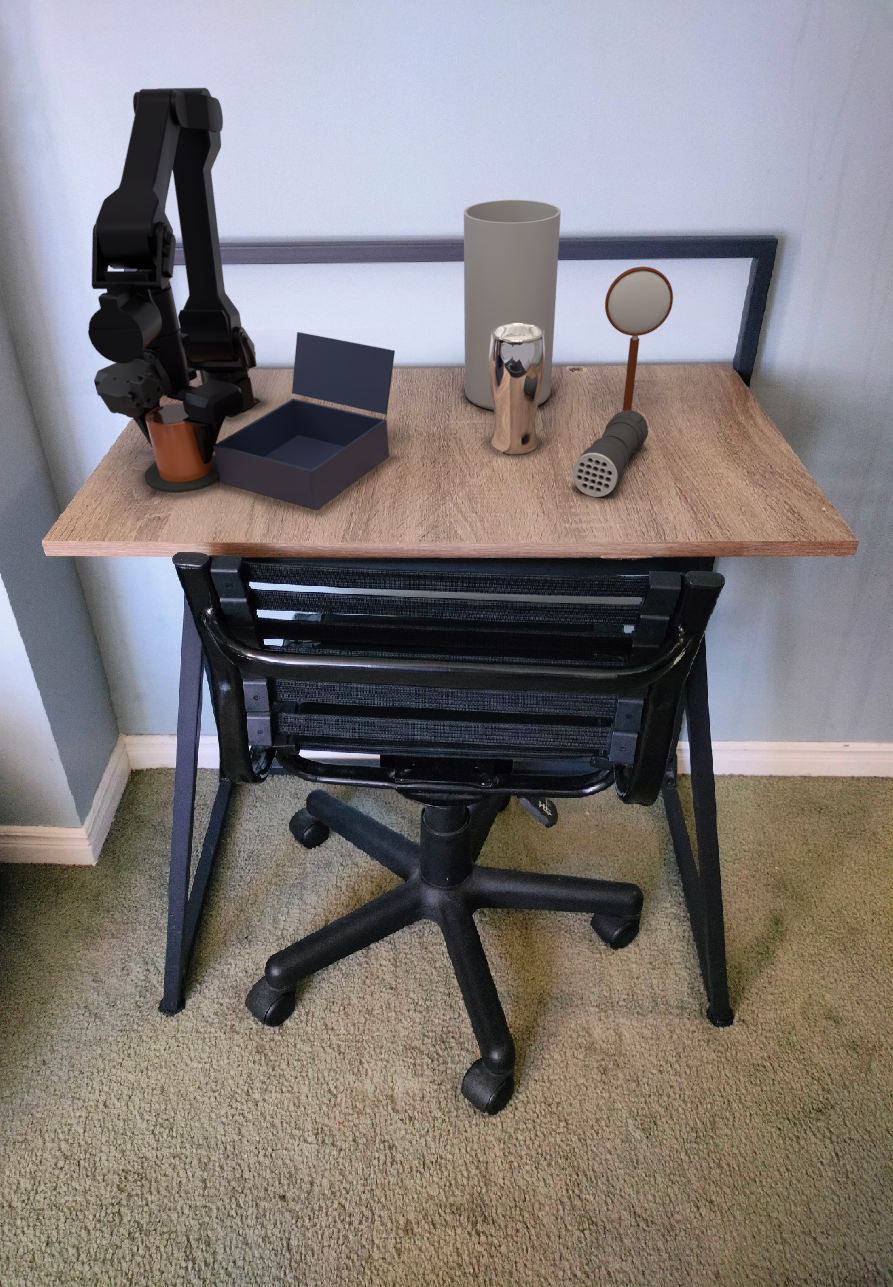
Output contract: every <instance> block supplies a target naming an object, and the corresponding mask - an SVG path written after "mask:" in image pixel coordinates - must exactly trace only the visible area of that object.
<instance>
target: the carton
mask: <svg viewBox="0 0 893 1287" xmlns="http://www.w3.org/2000/svg"><path fill="white" fill-rule="evenodd" d="M388 434H389V433H388V420H387V419H386V418H380V417H376V416H372V415H368V414H364V413H358V412H355V411H350V410H346V409H341V408H337V407H333V406H329V405H324V404H319V403H315V402H312V401H311V402H310V401H308V400H307V401H306V400H302V399H297V398H291V399H289V400H288V401H286V402H284V403H283V404H281V405H278V406H277V407H276V408H274V409H272V410H271V411H269V412H267V413H266V414H264V415H262V416H260V417H258V418H257V419H256V420H254V421H252V422H251V423H249V424H247V425H246V426H244V427H242V428H240V429H239V430H237V431H235V432H233V433H232V434H230V435H228V436H227V437H225V438H223V439H222V440H220V441H219V442H218V441H217V442H216V444H215V445H213V447H214V455H215V457H216V462H217V467H218V472H219V477H220V480H219V482H220V484H222V485H226V486H230V487H234V488H237V489H241V490H244V491H248V492H251V493H255V494H258V495H260V496H261V495H262V496H264V497H268V498H272V499H275V500H279V501H281V502H282V501H283V502H285V503H288V504H289V503H290V504H292V505H296V506H299V507H303V508H307V509H310V510H312V511H319V510H320V509H322V508H323V507H324V506H326V505H327V504H328V503H329V502H330V501H332V500H334V499H335V498H336V497H337V496H338V495H340V494H341V493H343V492H344V491H345V490H347V489H348V488H350V486H352V485H353V484H355V483H356V482H358V481H359V480H360V479H361V478H363V477H364V476H365V475H366V474H368V473H370V471H372V470H373V469H374V468H376V467H377V466H379V465H380V464H381V463H383V462H384V461H385V460H386V459H388V458H389V457H390V450H389V435H388Z"/></svg>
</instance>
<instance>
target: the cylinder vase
mask: <svg viewBox="0 0 893 1287" xmlns="http://www.w3.org/2000/svg"><path fill="white" fill-rule="evenodd" d="M560 230H561V208H559V207H558V206H556V205H554V204H551V203H547V202H543V201H537V200H526V199H501V200H490V201H485V202H479V203H474V204H472V205H469V206H467V207H466V208H464V210H463V304H464V305H463V306H464V307H463V309H464V310H463V312H464V313H463V314H464V317H463V319H464V323H463V324H464V392H465V393H464V394H465V396H466V398H467V399H468V401H470V402H471V403H472V404H474V405H476V406H478V407H480V408H483V409H487V410H491V411H494V405H493V400H492V394H491V387H490V379H489V351H490V340H491V330H492V329H493V328H494V327H496V326H498V325H502V324H506V323H529V324H534V325H537V326H539V327H541V328H542V329H543V330H544V346H545V366H544V377H543V383H542V388H541V392H540V397H539V401H538V406H540V405H541V404H542V405H543V403H545V402H546V401H547V400H548V398H549V397H550V395H551V390H552V371H553V354H554V353H553V352H554V336H555V333H554V332H555V317H556V304H557V303H556V300H557V286H558V285H557V284H558V266H559V248H560Z"/></svg>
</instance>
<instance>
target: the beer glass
mask: <svg viewBox="0 0 893 1287" xmlns="http://www.w3.org/2000/svg"><path fill="white" fill-rule="evenodd" d="M544 366H545V346H544V330H543V329H542V328H541V327H539V326H537V325H534V324H529V323H506V324H502V325H498V326H496V327H494V328H493V329H492V330H491V340H490V351H489V379H490V387H491V394H492V400H493V405H494V410H493V411H494V412H493V413H494V426H493V431H492V436H491V446H492V447H493V448H494V449H496V450H498V451H501V452H502V454H506V455H514V456H515V455H524V454H527V453H530V452H533V451H534V450H535V449H536V448H537V447H538V435H537V429H536V417H537V411H538V406H539V405H538V401H539V397H540V392H541V388H542V383H543V377H544Z"/></svg>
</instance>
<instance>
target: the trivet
mask: <svg viewBox="0 0 893 1287" xmlns="http://www.w3.org/2000/svg"><path fill="white" fill-rule="evenodd" d="M210 462H211V470H210V472H209V473H208V474H206V475H205V476H203V477H201V478H199V479H196V480H193V481H188V482H170V481H166V480H164V479H162V478H161V477H160V476H159V472H158V468H157V464H156V462H154V463H152V464H151V465H149V467H148V468H147V469H146V470H145V473H144V480H145V483H146V484H147V486H149V488H151V489H153V490H155V491H159V492H163V493H169V494H170V493H172V494H174V493H176V494H177V493H180V494H181V493H189V492H194V491H198V490H202V489H205V488H207V487H208V488H209V486H212V485H214V484H215V483H217V482H220V477H219V472H218V467H217V462H216V457H215V454H213V456H212V460H211V461H210Z"/></svg>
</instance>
